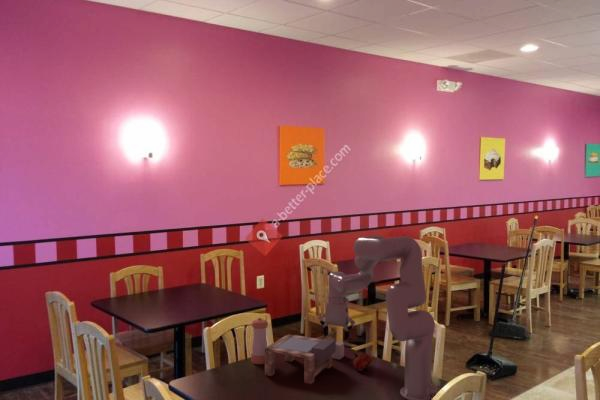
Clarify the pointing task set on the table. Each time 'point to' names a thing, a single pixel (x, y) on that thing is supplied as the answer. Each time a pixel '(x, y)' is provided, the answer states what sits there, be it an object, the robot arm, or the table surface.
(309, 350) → the trapdoor
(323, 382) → the table surface
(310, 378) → the trapdoor frame
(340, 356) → the granite stone
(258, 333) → the pepper shaker
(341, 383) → the table surface
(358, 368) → the pomegranate
